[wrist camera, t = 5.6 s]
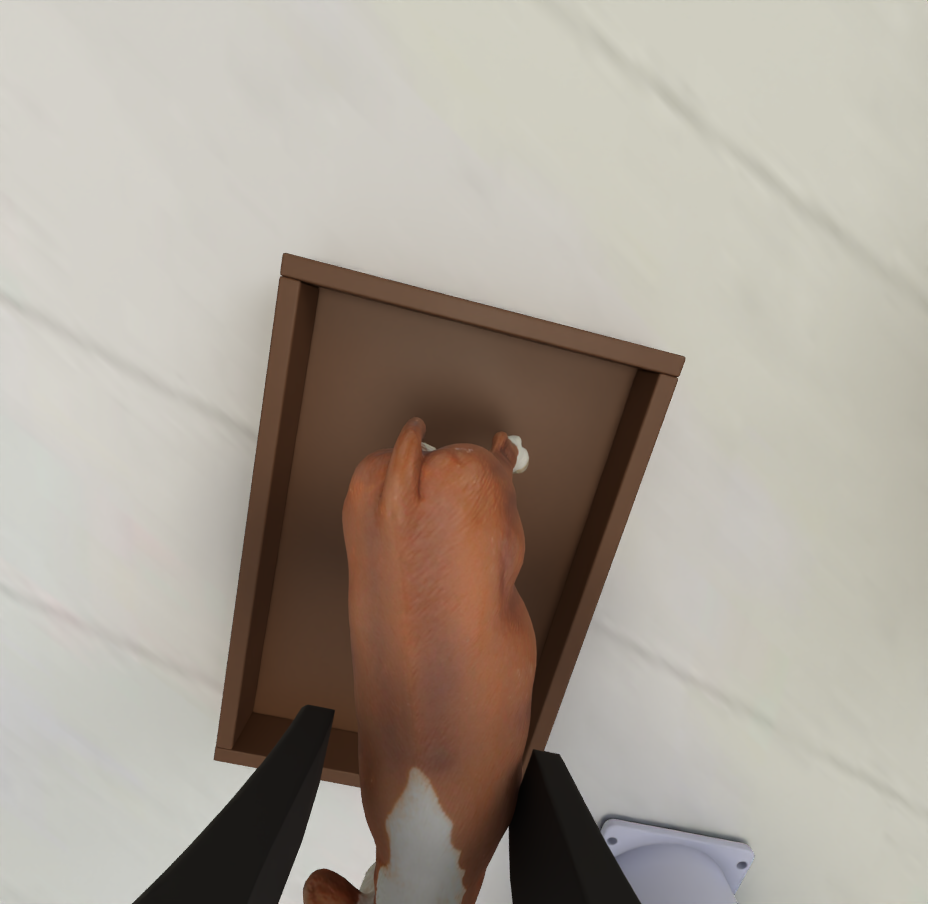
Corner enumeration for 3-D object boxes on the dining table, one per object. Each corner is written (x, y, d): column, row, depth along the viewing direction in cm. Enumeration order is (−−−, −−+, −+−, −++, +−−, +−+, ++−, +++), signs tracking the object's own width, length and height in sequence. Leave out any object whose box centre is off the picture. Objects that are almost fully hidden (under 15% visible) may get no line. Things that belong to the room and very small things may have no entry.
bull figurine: (405, 744, 17) (277, 1065, 9) (422, 391, 14) (259, 430, 7) (519, 771, 16) (484, 1148, 9) (562, 404, 14) (568, 466, 6)
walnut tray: (514, 765, 22) (520, 818, 20) (241, 712, 21) (213, 760, 19) (655, 354, 17) (687, 356, 15) (308, 264, 16) (282, 251, 14)
